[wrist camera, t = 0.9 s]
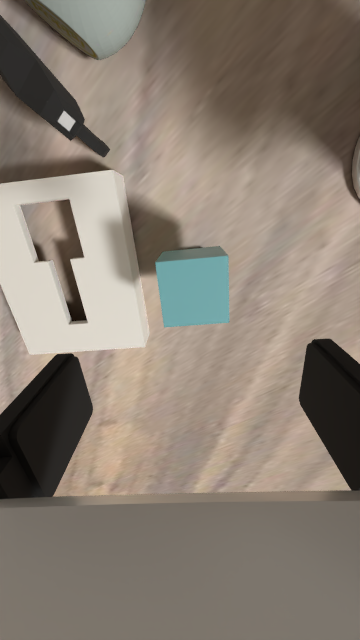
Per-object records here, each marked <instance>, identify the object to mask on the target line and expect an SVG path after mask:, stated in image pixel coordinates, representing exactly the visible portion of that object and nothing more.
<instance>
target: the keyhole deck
mask: <svg viewBox="0 0 360 640" xmlns="http://www.w3.org/2000/svg"><path fill="white" fill-rule="evenodd" d="M60 200H70V204H71V207H72V211H73V215H74V219H75V223H76V227H77V231H78V235H79V238H80V242H81V246H82V250H83V254H84V257H78V258H72V259H70V261H71V265H72V268H73V272H74V275H75V279H76V282H77V286H78V289H79V293H80V296H81V300H82V304H83V307H84V311H85V314H86V318H87V320H85V321H72V320H71V317H70V314H69V310H68V307H67V304H66V301H65V298H64V294H63V291H62V288H61V285H60V282H59V278H58V275H57V272H56V269H55V266H54V262H53V260H47V261H39V260H38V257H37V254H36V251H35V248H34V245H33V242H32V239H31V236H30V233H29V230H28V227H27V224H26V221H25V218H24V215H23V212H22V209H21V206H20V205H26V204H35V203H43V202H52V201H60ZM0 285H1V287H2V290H3V292H4V294H5V297H6V299H7V302H8V304H9V306H10V309H11V311H12V313H13V316H14V318H15V321H16V323H17V325H18V328H19V330H20V333H21V335H22V337H23V340H24V342H25V345H26V347H27V349H28V352H29V354H30V355H33V354H48V353H63V352H78V351H93V350H108V349H123V348H138V347H145V346H146V343H147V340H148V337H149V334H150V332H149V326H148V320H147V314H146V308H145V302H144V296H143V290H142V284H141V278H140V273H139V267H138V261H137V255H136V249H135V243H134V237H133V231H132V225H131V219H130V213H129V208H128V202H127V196H126V190H125V184H124V178H123V175H121V174H119V173H118V172H116V171H114V170H106V171H98V172H90V173H82V174H74V175H66V176H58V177H50V178H42V179H34V180H26V181H18V182H10V183H2V184H0Z"/></svg>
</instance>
